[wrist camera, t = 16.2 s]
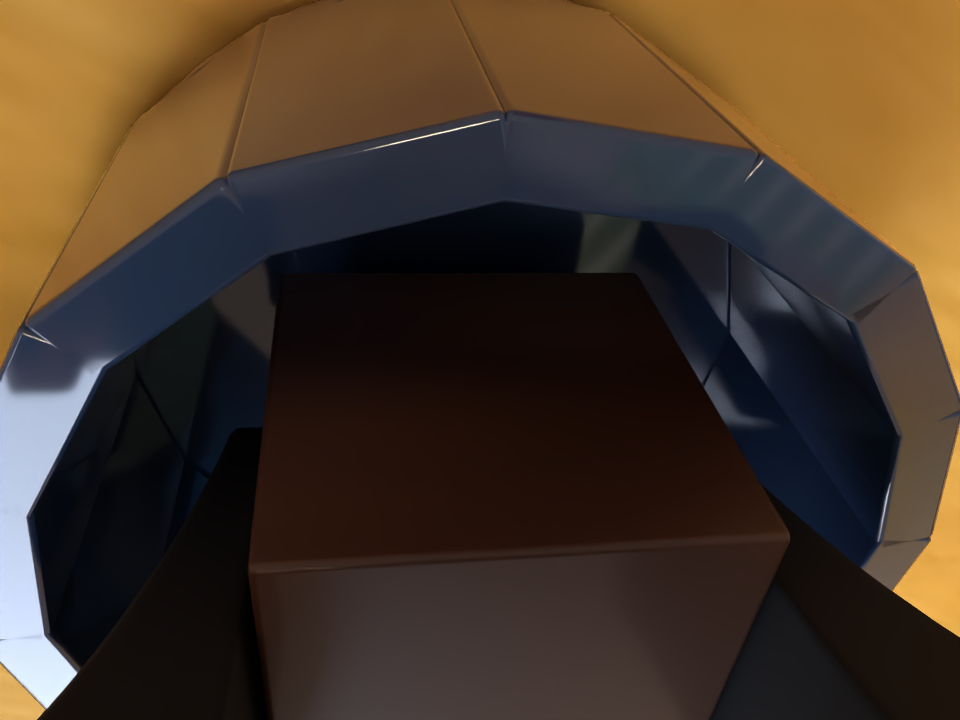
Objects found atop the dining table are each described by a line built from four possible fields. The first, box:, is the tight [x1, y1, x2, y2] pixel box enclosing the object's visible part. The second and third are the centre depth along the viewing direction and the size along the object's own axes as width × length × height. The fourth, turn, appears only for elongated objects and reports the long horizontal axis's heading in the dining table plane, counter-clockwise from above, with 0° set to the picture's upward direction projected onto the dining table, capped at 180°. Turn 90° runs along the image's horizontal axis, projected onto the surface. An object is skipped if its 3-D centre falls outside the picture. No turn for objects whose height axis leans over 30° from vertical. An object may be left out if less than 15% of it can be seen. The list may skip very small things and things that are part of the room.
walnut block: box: [247, 273, 790, 720], centre depth 11 cm, size 5×5×5 cm
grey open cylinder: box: [0, 0, 960, 710], centre depth 12 cm, size 12×12×5 cm
